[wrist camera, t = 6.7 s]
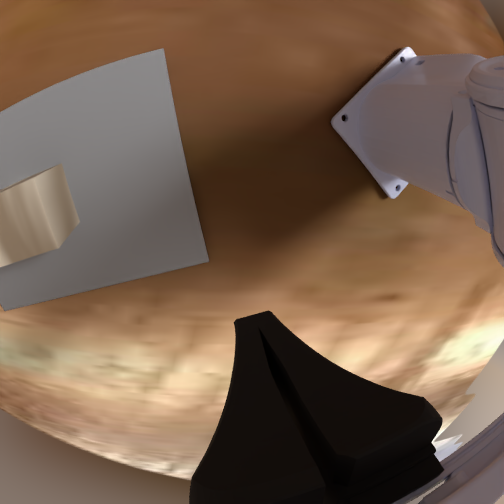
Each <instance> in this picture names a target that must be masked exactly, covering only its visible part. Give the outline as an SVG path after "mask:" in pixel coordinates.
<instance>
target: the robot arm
mask: <svg viewBox="0 0 504 504" xmlns="http://www.w3.org/2000/svg"><path fill="white" fill-rule="evenodd" d="M400 58H401V59H402V62H401V61H400ZM342 115H345V117H346V119H345V121H342ZM331 125H332V127H333V128H334V129H335V130H336V132H337V133H338V134H339V135H340V136H341V137H342V139H343V140H344V141H345V142H346V143H347V145H348V146H349V147H350V148H351V149H352V151H353V152H354V153H355V154H356V155H357V157H358V158H359V159H360V160H361V162H362V163H363V164H364V165H365V167H366V168H367V169H368V171H369V172H370V173H371V174H372V176H373V177H374V178H375V180H376V181H377V182H378V184H379V185H380V186H381V188H382V189H383V190H384V192H385V193H386V194H387V196H388V197H390V198H392V199H394V198H396V197H397V196H398V195H399V194H400V192H401V191H402V190H403V189H404V188H405V187H406V186H407V184H408V183H410V184H413V185H415V186H417V187H420V188H422V189H424V190H426V191H428V192H431V193H433V194H435V195H437V196H439V197H441V198H443V199H445V200H447V201H450V202H452V203H454V204H456V205H458V206H460V207H462V208H464V209H466V210H467V211H469V212H470V213H471V214H472V215H473V216H474V218H475V222H476V225H477V226H478V227H480V228H482V229H484V230H485V231H487V232H489V233H490V234H491V243H492V248H493V251H494V254H495V256H496V258H497V260H498V262H499V263H500V264H501V265H502V267H503V268H504V56H497V57H493V58H489V59H486V58H484V57H481V56H478V55H475V54H441V55H426V56H416V54H415V53H414V52H413V50H412V49H411V48H409V47H404V48H402V49H401V50H400V51H399V52H398V53H397V54H396V55H395V56H394V57H393V58H392V59H391V60H390V61H389V62H388V63H387V64H386V65H385V66H384V67H383V68H382V69H381V70H380V71H379V72H378V73H377V74H376V75H375V76H374V77H373V78H372V79H371V80H370V81H369V82H368V83H367V84H366V85H365V86H364V87H363V88H362V89H361V90H360V91H359V92H358V93H357V94H356V95H355V96H354V97H353V98H352V99H351V100H350V101H349V102H348V103H347V104H346V105H345V106H344V107H343V108H342V109H341V110H340V111H339V112H338V113H337V114H336V115H335V116H334V117H333V118H332V120H331ZM397 185H398V188H397V189H396V186H397ZM234 325H235V333H236V344H235V357H234V365H233V371H232V377H231V382H230V387H229V391H228V395H227V399H226V402H225V406H224V409H223V412H222V415H221V418H220V421H219V423H218V426H217V429H216V431H215V433H214V435H213V438H212V440H211V442H210V444H209V447H208V449H207V451H206V453H205V455H204V457H203V458H202V460H201V462H200V464H199V466H198V467H197V469H196V471H195V473H194V474H193V476H192V480H191V486H190V496H189V504H406V503H408V502H410V501H412V500H413V499H415V498H417V497H419V496H420V495H422V494H424V493H425V492H427V491H428V490H430V489H431V488H433V487H435V486H436V485H438V484H439V483H440V482H442V481H444V480H445V479H446V480H445V482H444V484H442V485H441V486H439V487H438V488H437V489H435V490H434V491H432V492H431V493H429V494H428V495H426V496H425V497H424V498H423V499H422V500H421V501H420V502H419V503H418V504H494V503H495V502H496V501H497V500H498V499H499V498H500V497H501V496H502V495H503V494H504V413H503V414H502V415H500V416H499V417H498V418H497V419H496V420H495V421H494V422H492V423H491V424H490V425H489V426H488V427H487V428H485V429H484V430H483V431H482V432H480V433H479V434H478V435H477V436H475V437H474V438H473V439H472V440H470V441H469V442H468V443H466V444H465V445H464V446H462V447H461V448H459V449H458V450H457V451H455V452H454V453H452V454H451V455H450V456H448V457H447V458H445V459H444V460H442V461H441V462H439V461H438V459H437V458H436V456H435V455H434V453H435V452H436V449H435V447H434V446H433V444H432V443H431V442H432V440H433V439H434V437H435V436H436V434H437V433H438V431H439V430H440V428H441V425H442V417H441V416H440V415H439V413H438V412H437V411H436V409H435V408H434V407H433V406H432V405H431V404H430V403H429V402H428V401H427V400H426V399H425V398H424V397H420V396H416V395H412V394H407V393H403V392H399V391H396V390H392V389H389V388H386V387H383V386H381V385H378V384H376V383H373V382H371V381H368V380H366V379H364V378H361V377H359V376H357V375H355V374H353V373H351V372H349V371H347V370H345V369H343V368H341V367H340V366H338V365H336V364H334V363H333V362H331V361H329V360H328V359H326V358H325V357H323V356H322V355H320V354H319V353H317V352H316V351H315V350H313V349H312V348H311V347H309V346H308V345H307V344H305V343H304V342H303V341H302V340H300V339H299V338H298V337H297V336H296V335H294V334H293V333H292V332H291V331H290V330H289V329H288V328H287V327H286V326H284V325H283V324H282V323H281V322H280V321H279V320H278V319H277V317H276V316H275V315H274V314H273V313H272V312H270V311H265V312H261V313H258V314H254V315H251V316H247V317H243V318H239V319H236V320H235V322H234Z"/></svg>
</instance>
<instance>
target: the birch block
mask: <svg viewBox="0 0 504 504" xmlns="http://www.w3.org/2000/svg"><path fill="white" fill-rule="evenodd" d="M79 222H80V220H79V217H78V215H77V212H76V209H75V206H74V202H73V199H72V196H71V193H70V190H69V187H68V183H67V180H66V176H65V173H64V169H63V166H62V163H61V164H59V165H56V166H53V167H51V168H49V169H46V170H44V171H41V172H39V173H36V174H34V175H32V176H30V177H27V178H25V179H23V180H21V181H18V182H16V183H14V184H12V185H10V186H8V187H5V188H3V189H1V190H0V267H3V266H6V265H9V264H12V263H15V262H18V261H21V260H24V259H27V258H30V257H33V256H36V255H39V254H42V253H45V252H48V251H51V250H55V249H58V248H60V246H61V245H62V244H63V242H64V241H65V240H66V239H67V237H68V236H69V235H70V234H71V232H72V231H73V230H74V229H75V227H76V226H77V225H78V224H79Z"/></svg>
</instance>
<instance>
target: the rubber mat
mask: <svg viewBox="0 0 504 504" xmlns="http://www.w3.org/2000/svg"><path fill="white" fill-rule="evenodd" d="M61 163H62V166H63V169H64V173H65V176H66V180H67V183H68V187H69V190H70V193H71V196H72V199H73V202H74V206H75V209H76V212H77V215H78V217H79V220H80V222H79V224H78V225H77V226H76V227H75V229H74V230H73V231H72V232H71V234H70V235H69V236H68V237H67V239H66V240H65V241H64V242H63V244H62V245H61V246H60V248H58V249H55V250H51V251H48V252H45V253H42V254H39V255H36V256H33V257H30V258H27V259H24V260H21V261H18V262H15V263H12V264H9V265H6V266H3V267H0V304H1V306H2V308H3V309H4V311H7V310H11V309H15V308H20V307H24V306H28V305H32V304H36V303H40V302H44V301H48V300H53V299H57V298H61V297H65V296H69V295H73V294H77V293H81V292H86V291H90V290H94V289H98V288H102V287H106V286H110V285H115V284H119V283H123V282H127V281H131V280H135V279H139V278H143V277H148V276H152V275H156V274H160V273H164V272H168V271H172V270H177V269H181V268H185V267H189V266H193V265H197V264H201V263H206V262H209V258H208V254H207V250H206V246H205V242H204V238H203V234H202V230H201V225H200V221H199V217H198V213H197V209H196V205H195V200H194V196H193V192H192V187H191V183H190V178H189V174H188V169H187V165H186V160H185V156H184V151H183V146H182V142H181V137H180V132H179V127H178V122H177V118H176V113H175V107H174V102H173V97H172V92H171V87H170V81H169V76H168V70H167V65H166V59H165V54H164V49H159V50H155V51H151V52H147V53H143V54H139V55H136V56H132V57H129V58H126V59H122V60H119V61H116V62H113V63H110V64H107V65H104V66H101V67H98V68H95V69H93V70H90V71H87V72H84V73H82V74H79V75H77V76H74V77H72V78H69V79H67V80H64V81H62V82H60V83H57V84H55V85H53V86H51V87H49V88H46V89H44V90H42V91H40V92H38V93H36V94H34V95H32V96H30V97H28V98H26V99H24V100H22V101H20V102H18V103H16V104H14V105H13V106H11V107H9V108H7V109H5V110H4V111H2V112H0V190H1V189H3V188H5V187H8V186H10V185H12V184H14V183H16V182H18V181H21V180H23V179H25V178H27V177H30V176H32V175H34V174H36V173H39V172H41V171H44V170H46V169H49V168H51V167H53V166H56V165H59V164H61Z"/></svg>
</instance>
